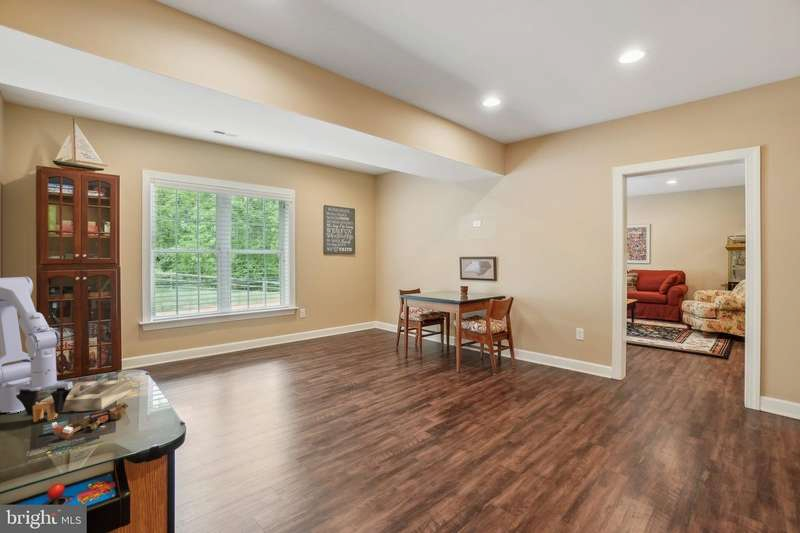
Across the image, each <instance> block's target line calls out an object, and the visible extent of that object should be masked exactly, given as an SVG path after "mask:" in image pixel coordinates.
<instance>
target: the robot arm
mask: <svg viewBox="0 0 800 533" xmlns="http://www.w3.org/2000/svg"><path fill="white" fill-rule="evenodd" d="M33 289H34V283H33V280H32V279H31V278H30V277H29V276H19V277H18V276H16V277H15V276H14V277H13V276H12V277H0V411H1V412H10V413H9V414H18V413H17V412H19V413H21V412H23V411H26V414H27V416H31V415H33V406H34V405H36V404H38V403H39V402H38V401H37V397H38V392H39V391H52V392H51V393H50V396H52V397H53V400H54V406H55V413H57V414H60V413H62V412H61V411H63V407H64V404H65V401H66V398H67V396H68V394H69V393H70V391H71V389H72V387H73V385H74V384H73V381H62V380H57V379H58V378H57V377H58V376H57V354H56V348H58V347H59V345H60V335H59V333H58V331H57V330H56V329H54V328H53V327H50V326H49V324H48V321H46V319H45V316H44V315H43V314H42V313H41V312H38V311H37V310H36V308H35V305H34V302H33V299H32V298H31V296H32V293H33ZM18 314H19V316H20V317H19V318H18ZM20 328H21V329H22V332H23V333H24V336H25V342H24V343H25V347H26V348H25V349H26V351H27V353H26V352H25V351H23V348H22V347H23V346H22V340H21V339H22V338H21V332H20ZM7 363H8V364H7ZM30 381H31V382H30ZM20 411H21V412H20Z"/></svg>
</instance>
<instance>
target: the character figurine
mask: <svg viewBox="0 0 800 533" xmlns="http://www.w3.org/2000/svg"><path fill="white" fill-rule="evenodd" d="M126 403H127V402H126ZM126 403H125V402H120V403H118V404H115V407H113V408H109V409H105V410H101V411H100V412H92V413H90V414H89V417H86V418H82V419H79V420H75V421H72V422H71V423H69V424H68V425H62V426H59V424H58V422H57V421H55V422H51V426H52V427H51V428H52V432H53V434H54V436H55V435H59V434H61V436H60V438H61V439H64V440H68V439H69V438H71V437H73V435H74V433H76V432H77V431H79V430H85V429H86V428H88V427H89V428H90V430H95V429H96V428H98V427H99V425H100V424H103V423H106V424H107V423H108V422H109V421H110V420H119V419H122V417H123V416H124V415H125V414H126V413H127V412H126V409H128V407H129V405H128V404H126ZM61 432H62V433H61ZM70 436H71V437H70ZM67 438H68V439H67Z"/></svg>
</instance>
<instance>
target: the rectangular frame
mask: <svg viewBox="0 0 800 533" xmlns="http://www.w3.org/2000/svg"><path fill="white" fill-rule="evenodd" d="M132 391H133V379H121V380H120V379H118V380H116V379H115V380H105V379H100V380H98V381H79V382H76V383H74V384H73V387H72V389H71V391H70V393H69V394H68V396H67V398H66V401H65V404H64V407H63V411H61V412H60V413H71V412H70V411H74V412H87V411H88V412H89V411H103V410H104V409H105V408H107V407H109V406H110V405H112V404H114V402H116V401H118V400H119V399H121V398H122V397H124V396H125V395H127V394H129V393H130V392H132ZM52 401H54V400H53V397H52V395H50V396H47V397H46V398H44V399H42V400H40V401H39V403H40V402H52ZM43 413H44V414H47V408H45V409H43Z"/></svg>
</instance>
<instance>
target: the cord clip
mask: <svg viewBox="0 0 800 533" xmlns="http://www.w3.org/2000/svg"><path fill="white" fill-rule="evenodd" d="M45 408H47V413H46V415H47V416H46V417H47V422H51V421H53V420H55V419H56V418H58V417H57V416H58V413H55V406H54V401H52V402H40V401H39V402H38V403H37V404H36V405H34V406H33V414H32V419H33V420H32V421H33V423H36V422H38V421H40V420H42V419H43V417H45V416H44V415H45V413H43V409H45ZM55 417H56V418H55ZM41 418H42V419H41ZM39 419H40V420H39ZM52 419H53V420H52ZM50 420H51V421H50Z"/></svg>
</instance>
